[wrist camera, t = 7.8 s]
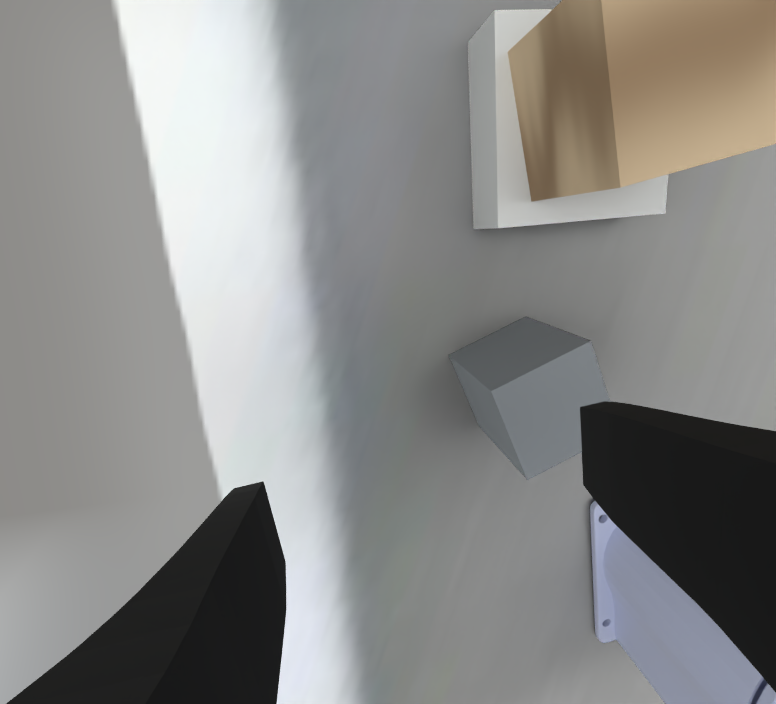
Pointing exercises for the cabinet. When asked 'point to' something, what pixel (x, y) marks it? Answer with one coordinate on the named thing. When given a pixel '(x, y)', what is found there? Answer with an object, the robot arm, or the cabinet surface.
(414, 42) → the cabinet surface
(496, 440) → the slate block
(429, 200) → the cabinet surface
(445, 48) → the cabinet surface
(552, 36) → the oak block
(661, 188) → the white base block
